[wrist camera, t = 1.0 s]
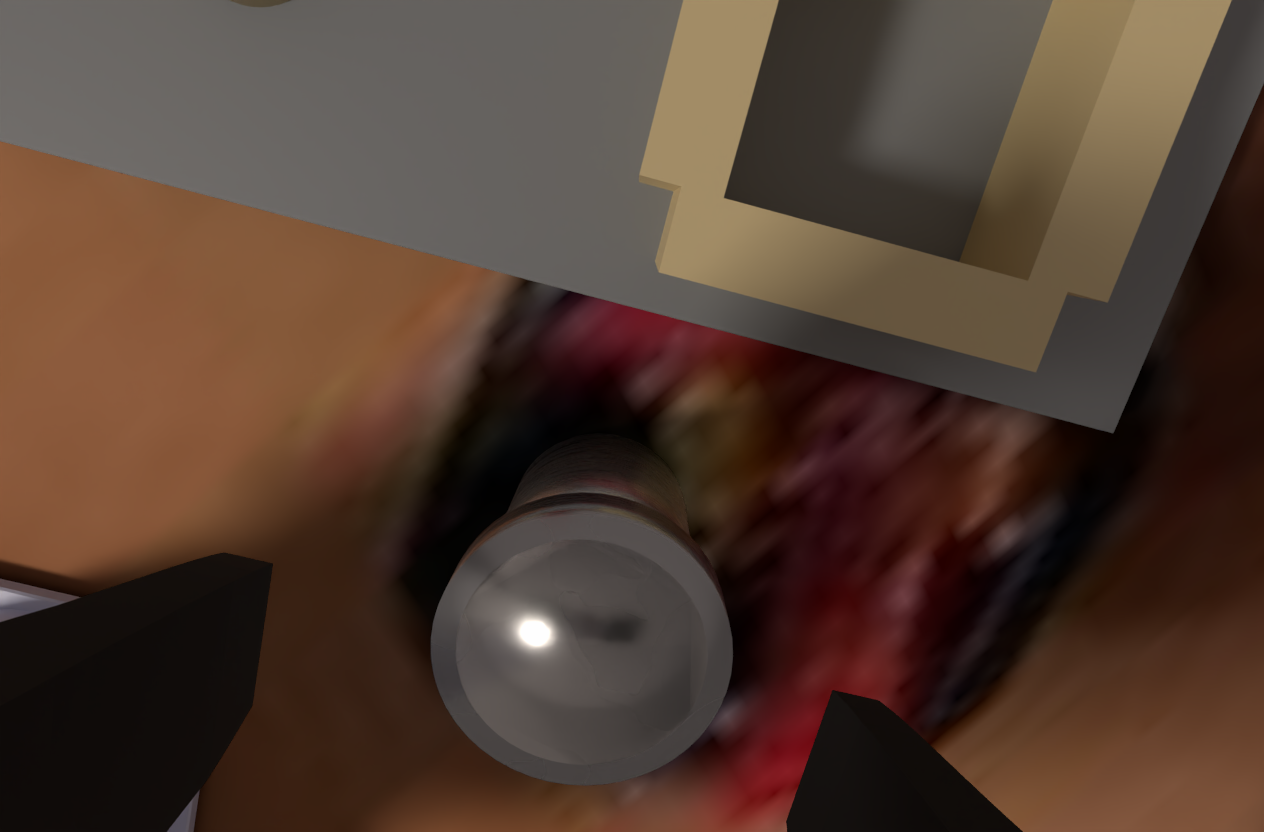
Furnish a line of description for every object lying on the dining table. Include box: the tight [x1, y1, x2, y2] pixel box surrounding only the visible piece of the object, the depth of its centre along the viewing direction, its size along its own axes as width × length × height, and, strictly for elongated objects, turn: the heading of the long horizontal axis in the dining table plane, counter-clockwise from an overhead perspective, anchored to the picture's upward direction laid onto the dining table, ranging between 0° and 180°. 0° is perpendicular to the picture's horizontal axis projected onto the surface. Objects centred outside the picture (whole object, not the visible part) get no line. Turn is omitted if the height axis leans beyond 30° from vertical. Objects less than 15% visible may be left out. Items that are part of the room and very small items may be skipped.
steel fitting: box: [431, 433, 733, 785], centre depth 15 cm, size 5×5×6 cm
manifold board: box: [0, 0, 1264, 433], centre depth 14 cm, size 10×24×4 cm, turn 75°
